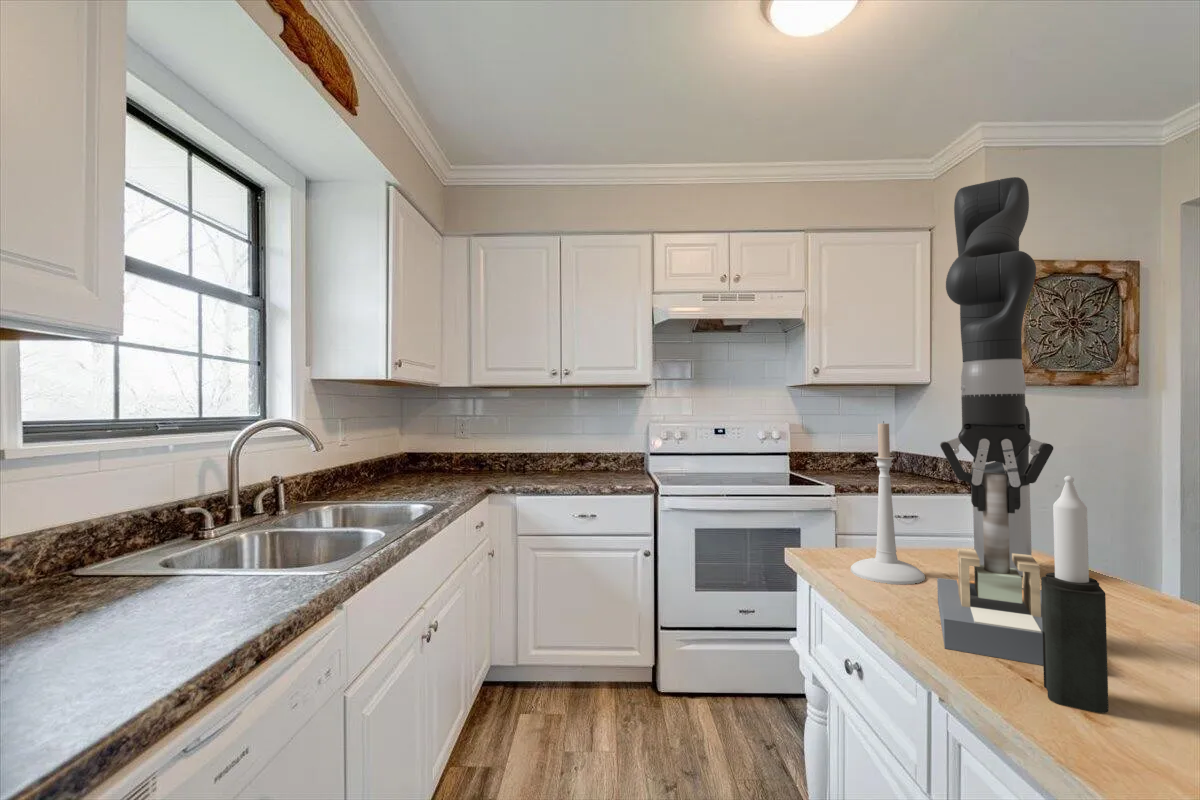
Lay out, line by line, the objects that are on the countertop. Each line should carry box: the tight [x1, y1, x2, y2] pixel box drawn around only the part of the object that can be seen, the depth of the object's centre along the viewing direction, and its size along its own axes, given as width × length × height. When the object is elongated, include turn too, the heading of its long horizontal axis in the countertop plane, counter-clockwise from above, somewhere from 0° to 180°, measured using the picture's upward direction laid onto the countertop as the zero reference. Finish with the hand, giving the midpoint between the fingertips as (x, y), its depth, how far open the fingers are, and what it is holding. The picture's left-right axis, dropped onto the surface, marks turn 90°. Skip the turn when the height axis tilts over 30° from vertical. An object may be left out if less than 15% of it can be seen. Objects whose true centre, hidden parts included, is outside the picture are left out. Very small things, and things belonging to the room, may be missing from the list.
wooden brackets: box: [957, 547, 1041, 617], centre depth 79 cm, size 6×9×7 cm, turn 61°
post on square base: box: [973, 473, 1023, 603], centre depth 79 cm, size 5×5×18 cm
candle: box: [1040, 475, 1110, 714], centre depth 61 cm, size 5×5×25 cm
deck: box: [936, 577, 1043, 666], centre depth 79 cm, size 20×14×4 cm
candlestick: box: [850, 420, 926, 586], centre depth 107 cm, size 13×13×30 cm
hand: (995, 510), depth 79 cm, fingers closed on post on square base, 3 cm apart
